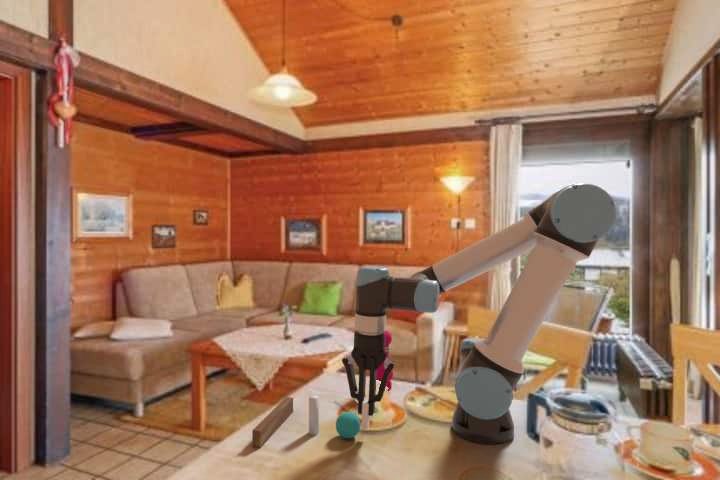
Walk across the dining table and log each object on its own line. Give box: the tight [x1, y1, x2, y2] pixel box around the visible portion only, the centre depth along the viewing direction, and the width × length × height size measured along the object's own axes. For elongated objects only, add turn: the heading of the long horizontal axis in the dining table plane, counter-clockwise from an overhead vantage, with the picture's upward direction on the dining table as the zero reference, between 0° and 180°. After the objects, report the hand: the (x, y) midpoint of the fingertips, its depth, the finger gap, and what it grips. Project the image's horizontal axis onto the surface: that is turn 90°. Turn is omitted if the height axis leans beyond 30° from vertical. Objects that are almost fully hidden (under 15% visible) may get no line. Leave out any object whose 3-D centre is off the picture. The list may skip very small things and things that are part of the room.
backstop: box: [251, 396, 294, 449], centre depth 111 cm, size 2×20×4 cm, turn 167°
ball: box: [335, 411, 361, 439], centre depth 106 cm, size 6×6×6 cm
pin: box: [308, 394, 320, 436], centre depth 108 cm, size 2×2×9 cm
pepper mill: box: [376, 329, 394, 391], centre depth 139 cm, size 7×7×20 cm
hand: (365, 427), depth 105 cm, fingers closed
